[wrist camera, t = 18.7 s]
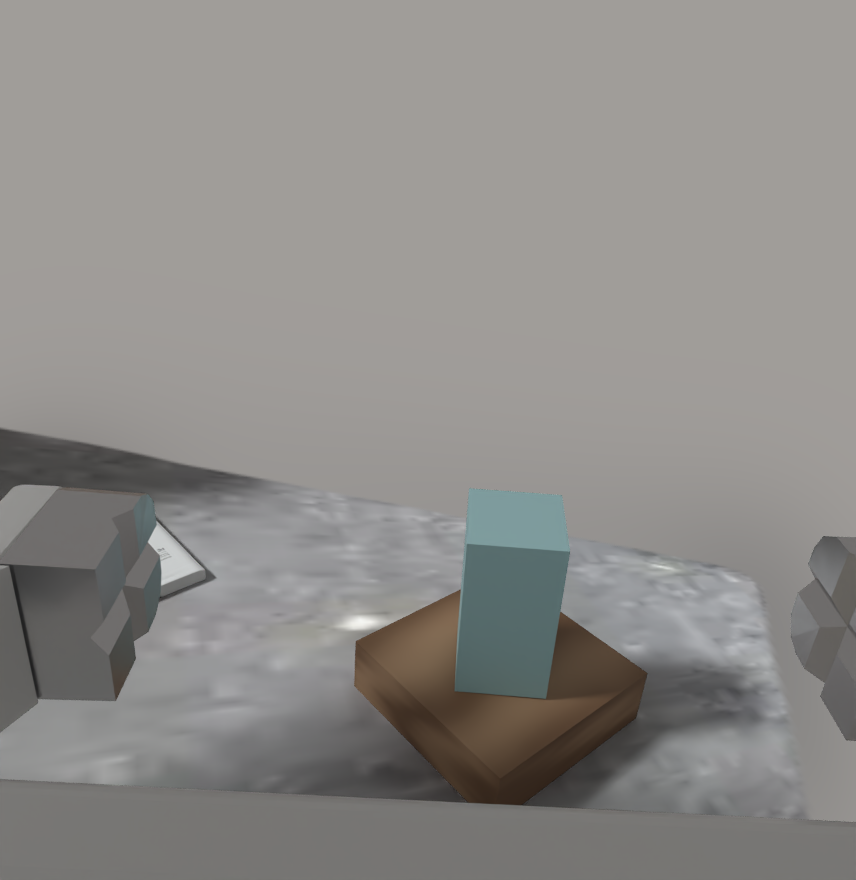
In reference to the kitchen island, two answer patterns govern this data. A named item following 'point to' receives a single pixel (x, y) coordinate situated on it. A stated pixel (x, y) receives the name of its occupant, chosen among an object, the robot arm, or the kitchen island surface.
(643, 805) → the kitchen island surface
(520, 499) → the teal block
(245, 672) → the kitchen island surface
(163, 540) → the external hard drive
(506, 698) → the walnut block
